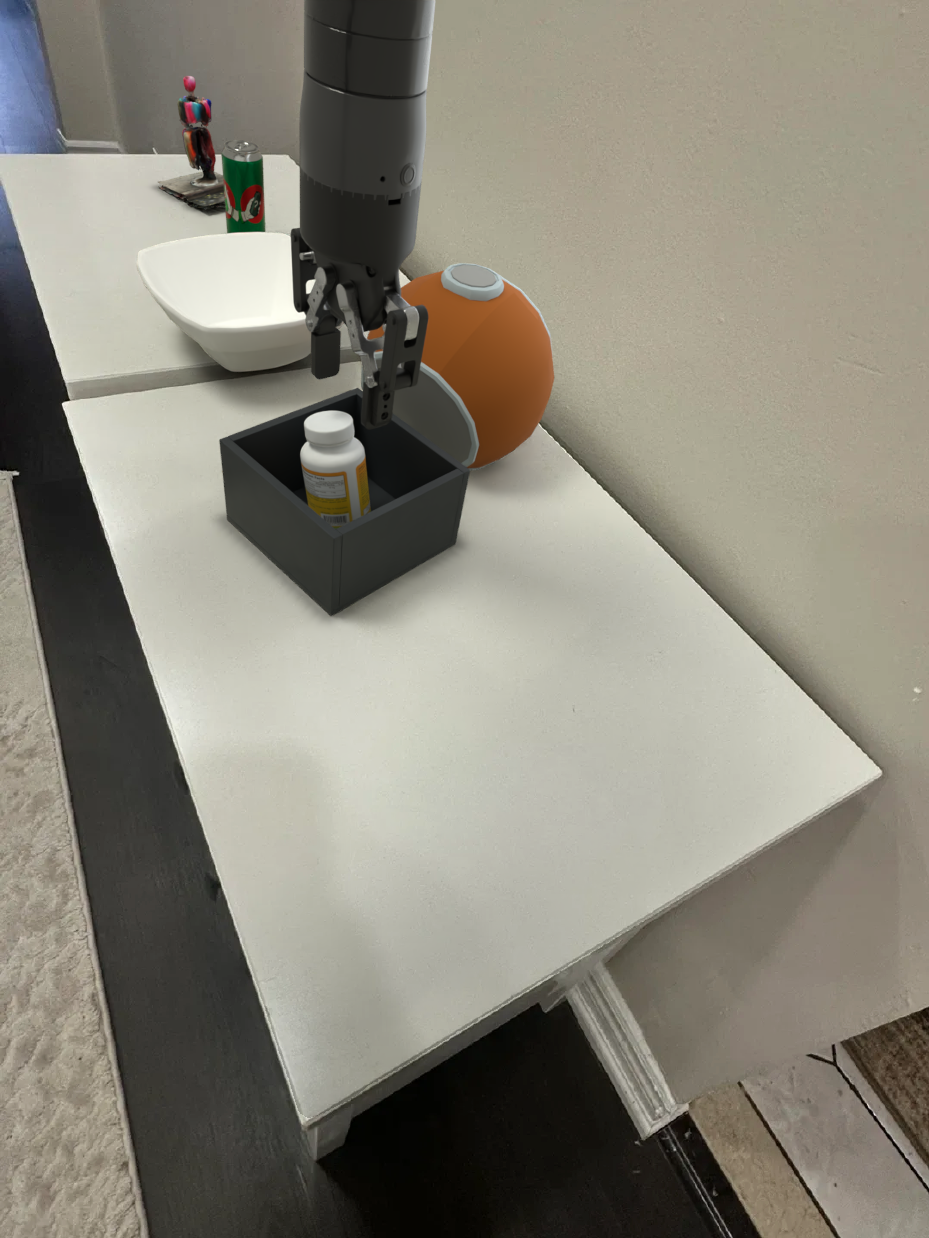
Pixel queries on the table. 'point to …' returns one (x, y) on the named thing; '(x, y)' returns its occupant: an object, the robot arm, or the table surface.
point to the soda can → (243, 187)
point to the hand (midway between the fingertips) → (349, 399)
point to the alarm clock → (476, 365)
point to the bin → (364, 548)
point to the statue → (197, 154)
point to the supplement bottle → (334, 468)
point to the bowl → (231, 296)
